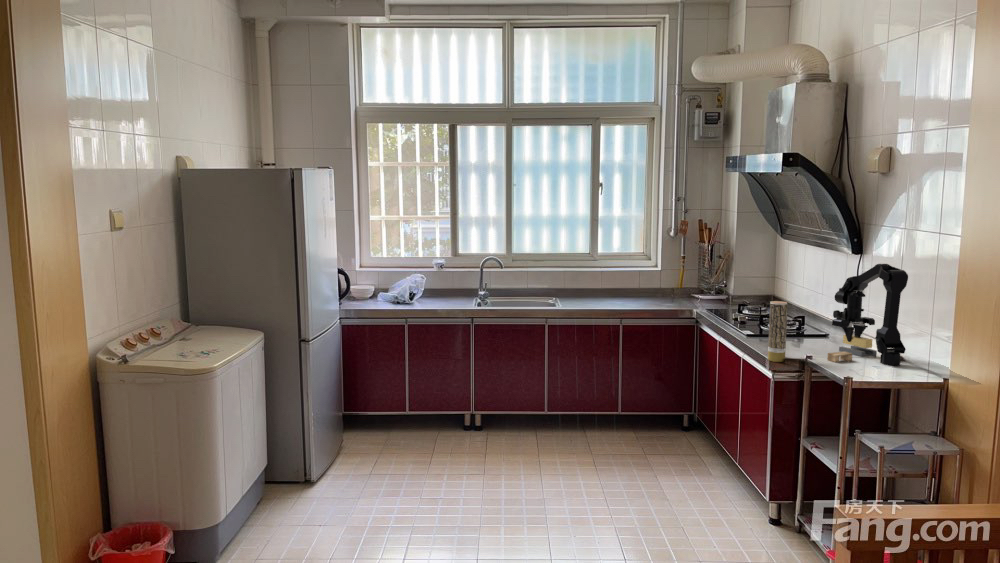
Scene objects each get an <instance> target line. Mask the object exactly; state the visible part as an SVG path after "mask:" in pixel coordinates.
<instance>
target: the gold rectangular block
mask: <svg viewBox="0 0 1000 563" xmlns="http://www.w3.org/2000/svg"><path fill="white" fill-rule="evenodd" d="M854 335H855V334H853V335H852V339H851V341H850V342H848V340H847V337H846V334H843V338H842V343H843V344H845V345H846V344H847V345H849V346H858V347H863V348H867V349H871V348H872V347H873V339H872V338H868V337H863V336H860V337H859V336H854Z"/></svg>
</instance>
